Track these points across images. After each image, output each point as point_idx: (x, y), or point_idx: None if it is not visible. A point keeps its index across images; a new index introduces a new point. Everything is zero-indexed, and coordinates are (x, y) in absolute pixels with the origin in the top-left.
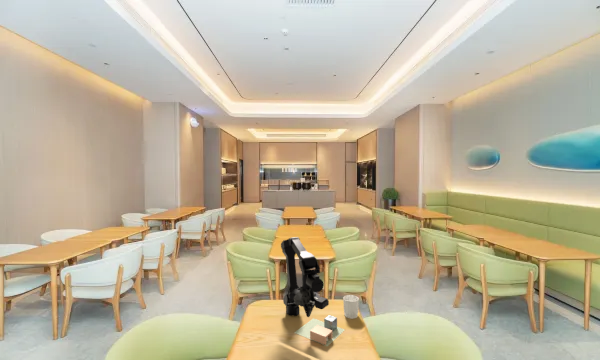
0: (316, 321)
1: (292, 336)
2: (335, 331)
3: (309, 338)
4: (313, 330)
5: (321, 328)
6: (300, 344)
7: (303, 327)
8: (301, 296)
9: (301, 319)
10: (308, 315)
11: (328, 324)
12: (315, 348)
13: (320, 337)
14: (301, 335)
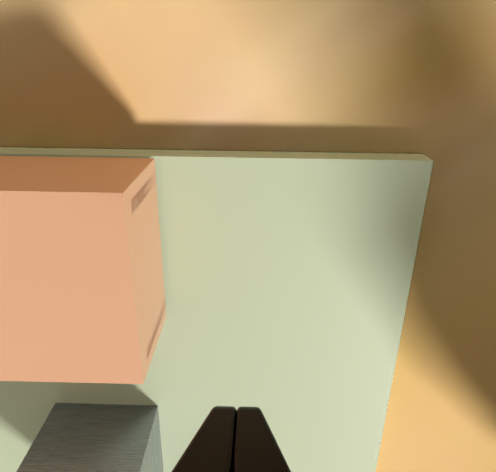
0: (310, 466)
1: (424, 106)
2: (38, 424)
3: (174, 165)
4: (83, 231)
5: (30, 341)
6: (224, 11)
7: (379, 317)
8: None
9: (489, 432)
10: (196, 444)
11: (78, 465)
12: (11, 60)
13: None
14: (305, 161)
